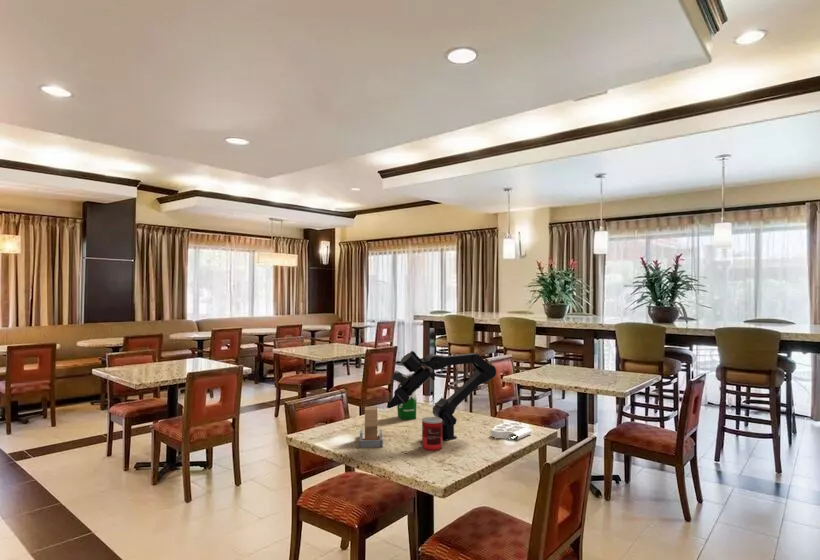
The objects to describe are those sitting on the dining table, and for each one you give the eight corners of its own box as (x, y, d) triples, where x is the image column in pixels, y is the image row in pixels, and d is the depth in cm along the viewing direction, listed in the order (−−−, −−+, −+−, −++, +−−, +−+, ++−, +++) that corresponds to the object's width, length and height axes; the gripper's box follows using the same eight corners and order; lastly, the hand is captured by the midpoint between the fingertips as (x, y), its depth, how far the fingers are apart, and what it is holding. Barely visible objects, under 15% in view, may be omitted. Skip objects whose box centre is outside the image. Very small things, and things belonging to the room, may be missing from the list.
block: (377, 442, 193) (377, 409, 193) (364, 442, 193) (364, 409, 193) (377, 438, 198) (377, 406, 198) (364, 438, 198) (365, 406, 198)
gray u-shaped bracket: (382, 447, 187) (382, 440, 187) (359, 447, 186) (359, 441, 186) (381, 435, 202) (381, 429, 202) (360, 436, 201) (360, 430, 201)
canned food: (431, 443, 191) (431, 415, 192) (446, 448, 186) (446, 419, 186) (417, 447, 186) (417, 419, 186) (433, 452, 180) (433, 422, 181)
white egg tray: (514, 443, 193) (483, 436, 202) (535, 434, 206) (505, 428, 216) (514, 435, 193) (483, 428, 202) (535, 426, 206) (505, 420, 216)
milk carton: (400, 420, 226) (400, 377, 227) (395, 416, 235) (395, 374, 235) (418, 419, 229) (418, 376, 229) (412, 414, 237) (412, 373, 238)
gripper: (406, 361, 206) (379, 386, 207) (401, 367, 188) (372, 394, 188) (423, 381, 205) (396, 405, 206) (420, 389, 187) (391, 416, 187)
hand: (389, 405), depth 197 cm, fingers open, 9 cm apart
